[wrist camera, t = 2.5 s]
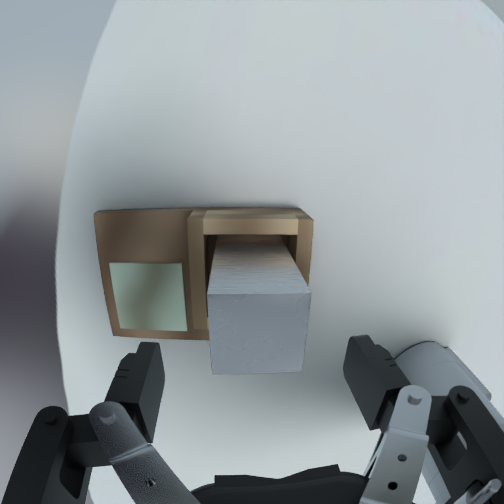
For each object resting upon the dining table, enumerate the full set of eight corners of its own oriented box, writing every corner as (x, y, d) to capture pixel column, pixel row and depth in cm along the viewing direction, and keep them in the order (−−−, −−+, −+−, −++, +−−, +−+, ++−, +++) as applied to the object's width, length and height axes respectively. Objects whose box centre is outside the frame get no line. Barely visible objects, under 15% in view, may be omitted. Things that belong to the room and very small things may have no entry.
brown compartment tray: (300, 208, 23) (313, 219, 19) (291, 332, 27) (299, 359, 23) (98, 211, 22) (76, 222, 18) (116, 329, 26) (102, 355, 22)
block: (278, 233, 23) (311, 292, 13) (276, 289, 24) (301, 371, 15) (217, 233, 22) (207, 294, 13) (218, 289, 24) (211, 374, 14)
